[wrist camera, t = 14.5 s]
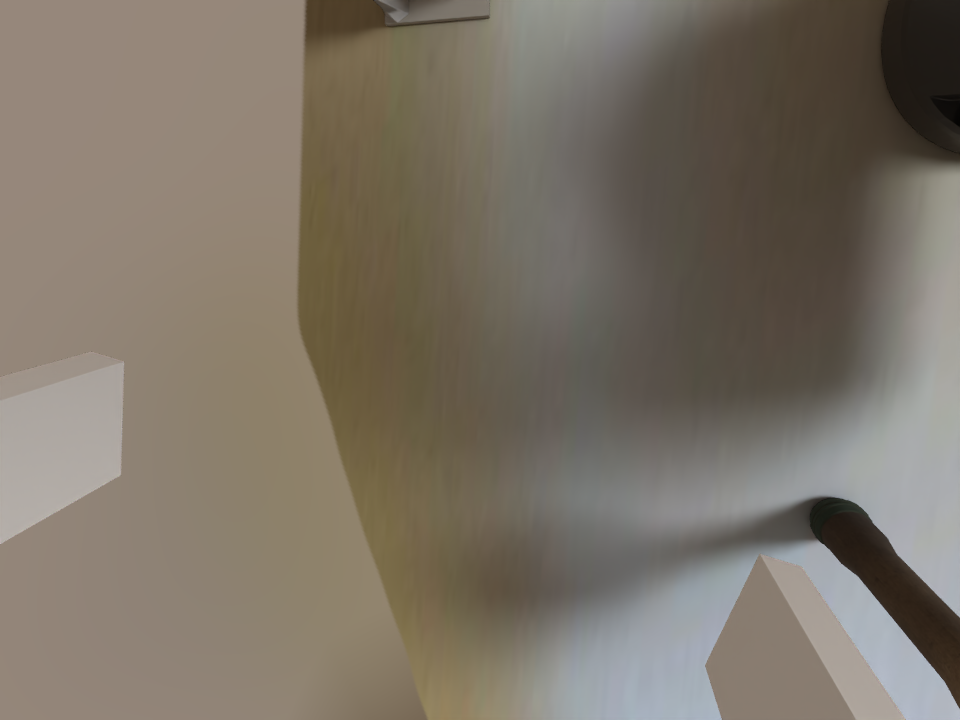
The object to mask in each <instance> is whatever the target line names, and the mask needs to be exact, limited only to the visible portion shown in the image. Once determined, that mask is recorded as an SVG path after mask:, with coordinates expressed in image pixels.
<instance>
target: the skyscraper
mask: <svg viewBox="0 0 960 720" xmlns="http://www.w3.org/2000/svg"><path fill="white" fill-rule="evenodd" d="M374 1H375V2H376V3H377V4H378V5H379V6H380V7H381V8H382V9H383V11H384V13H385V24H386V26H398V25H410V24H422V23H434V22H446V21H457V20H469V19H481V18H490V0H374Z"/></svg>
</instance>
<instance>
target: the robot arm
mask: <svg viewBox="0 0 960 720" xmlns="http://www.w3.org/2000/svg"><path fill="white" fill-rule="evenodd" d="M882 62H883V70H884V75H885V80H886V83H887V86H888V89H889V92H890V94H891V97H892V99H893V101H894V103H895V105H896V107H897V108H898V110H899V111H900V113H901V114H902V116H903V117H904V118H905V119H906V121H907V122H908V123H909V124H910V125H911V126H912V127H913V128H914V129H915V130H916V131H917V132H919V133H920V134H921V135H922V136H924V137H925V138H927V139H928V140H930V141H932V142H933V143H935V144H937V145H939V146H941V147H943V148H946V149H948V150H951V151H954V152H957V153H960V0H890V2H889V5H888V8H887V12H886V17H885V22H884V27H883V36H882ZM123 385H124V361H121V360H118V359H115V358H112V357H108V356H105V355H102V354H98V353H95V352H92V351H91V352H87V353H84V354H80V355H76V356H73V357H69V358H66V359H62V360H58V361H55V362H51V363H48V364H44V365H40V366H36V367H33V368H29V369H26V370H22V371H19V372H15V373H11V374H8V375H4V376H0V544H1V543H3V542H5V541H6V540H8V539H10V538H12V537H13V536H15V535H17V534H19V533H20V532H22V531H24V530H26V529H27V528H29V527H31V526H33V525H34V524H36V523H38V522H40V521H41V520H43V519H45V518H47V517H48V516H50V515H52V514H54V513H55V512H57V511H59V510H61V509H62V508H64V507H66V506H68V505H69V504H71V503H73V502H75V501H76V500H78V499H80V498H82V497H83V496H85V495H87V494H89V493H90V492H92V491H94V490H96V489H97V488H99V487H101V486H103V485H104V484H106V483H108V482H110V481H111V480H113V479H115V478H117V477H118V476H120V475H121V449H122V419H123V418H122V417H123ZM705 667H706V670H707V673H708V676H709V679H710V683H711V686H712V689H713V692H714V695H715V699H716V702H717V705H718V708H719V711H720V715H721V718H722V720H906V719H905V718H904V716H903V715H902V713H901V712H900V710H899V709H898V707H897V706H896V705H895V703H894V702H893V700H892V699H891V697H890V696H889V694H888V693H887V691H886V690H885V688H884V687H883V685H882V684H881V683H880V681H879V680H878V678H877V677H876V675H875V674H874V672H873V671H872V669H871V668H870V666H869V665H868V663H867V662H866V660H865V659H864V658H863V656H862V655H861V653H860V652H859V650H858V649H857V647H856V646H855V644H854V643H853V641H852V640H851V638H850V637H849V636H848V634H847V633H846V631H845V630H844V628H843V627H842V625H841V624H840V622H839V621H838V619H837V618H836V616H835V615H834V614H833V612H832V611H831V609H830V608H829V606H828V605H827V603H826V602H825V600H824V599H823V597H822V596H821V594H820V593H819V591H818V590H817V589H816V587H815V586H814V584H813V583H812V581H811V580H810V578H809V577H808V575H807V574H806V572H805V571H804V569H803V568H802V567H801V566H798V565H794V564H791V563H788V562H784V561H781V560H778V559H775V558H771V557H768V556H765V555H761V554H759V556H758V558H757V560H756V562H755V565H754V567H753V569H752V571H751V573H750V575H749V577H748V579H747V581H746V583H745V585H744V587H743V589H742V591H741V593H740V595H739V597H738V599H737V601H736V603H735V605H734V607H733V609H732V612H731V614H730V616H729V618H728V620H727V622H726V624H725V626H724V628H723V630H722V632H721V634H720V636H719V638H718V640H717V642H716V644H715V646H714V648H713V650H712V652H711V654H710V656H709V658H708V661H707V663H706V665H705Z"/></svg>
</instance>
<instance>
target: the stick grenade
mask: <svg viewBox="0 0 960 720" xmlns="http://www.w3.org/2000/svg"><path fill="white" fill-rule="evenodd" d="M810 526H811V529H812V531H813V533H814V535H815V536H816V538H817V539H818V540H819V541H820V542H821V543H822V544H824V545H825V546H826V547H827V548H828V549H830V550H831V552H832V553H833V554H834V555H835V556H836V558H837V559H838V560H839V561H840V562H841V564H843V565H844V566H845V567H847V568H848V569H849V570H850V571H852V572H853V573H854V574H856V575H857V576H858V577H859V578H860V579H861V580H862V582H863V583H864V584H865V585H866V587H867V588H868V589H869V590H870V591H871V593H872V594H873V595H874V596H875V598H876V599H877V600H878V601H879V602H880V604H881V605H882V606H883V607H884V608H885V610H886V611H887V612H888V613H889V615H890V616H891V617H892V618H893V619H894V621H895V622H896V623H897V624H898V625H899V627H900V628H901V629H902V630H903V632H904V633H905V634H906V635H907V636H908V638H909V639H910V640H911V641H912V643H913V644H914V645H915V646H916V647H917V649H918V650H919V651H920V652H921V653H922V655H923V656H924V657H925V658H926V660H927V661H928V662H929V663H930V664H931V666H932V667H933V668H934V669H935V671H936V672H937V673H938V674H939V675H940V677H941V678H942V679H943V680H944V681H945V683H946V685H947V687H948V688H949V690H950V692H951V694H952V696H953V698H954V699H955V701H956V703H957V705H958V707H959V708H960V618H959V617H958V616H957V615H956V614H955V613H954V612H953V611H952V610H951V609H950V608H949V607H948V606H947V605H946V604H945V603H944V602H943V601H942V600H941V599H940V598H939V597H938V596H937V595H936V594H935V592H934V591H933V590H932V589H931V588H930V587H929V586H928V585H927V584H926V583H925V582H924V581H923V580H922V579H921V578H920V577H919V576H918V575H917V574H916V573H915V572H914V571H913V570H912V569H911V568H910V567H909V566H908V565H907V564H906V563H905V562H904V561H903V560H902V559H901V558H900V557H899V556H898V555H897V554H896V552H895V550H894V549H893V547H892V545H891V544H890V542H889V540H888V539H887V537H886V536H885V535H884V534H883V533H882V532H881V531H880V530H879V529H878V528H877V527H876V526H875V525H874V524H873V523H872V520H871V519H870V518H869V516H868V514H867V513H866V512H865V511H864V510H863V509H862V508H861V507H859V506H858V505H857V504H855V503H853V502H851V501H848V500H844V499H840V498H831V499H826V500H823V501H821V502H819V503H818V504H817V505H816V506H815V507H814V508H813V510H812V512H811V514H810Z"/></svg>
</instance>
